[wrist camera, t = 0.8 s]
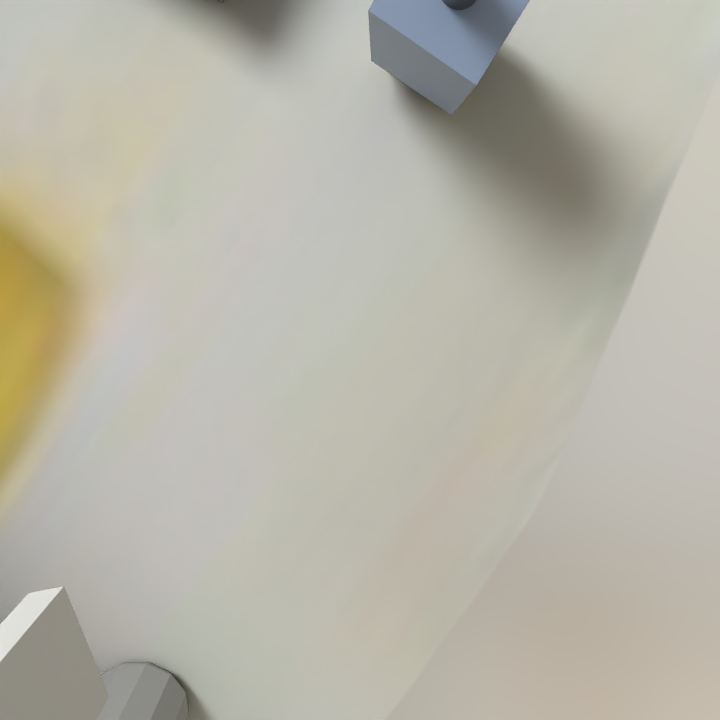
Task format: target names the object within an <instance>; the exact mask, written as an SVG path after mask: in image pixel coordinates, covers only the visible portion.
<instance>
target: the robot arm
mask: <svg viewBox="0 0 720 720" xmlns="http://www.w3.org/2000/svg"><path fill="white" fill-rule="evenodd" d="M108 698H109V696H108V693H107V691H106V688H105V686H104V683H103V681H102V679H101V676H100V674H99V671H98V669H97V666H96V664H95V661H94V659H93V656H92V654H91V652H90V649H89V647H88V644H87V642H86V639H85V637H84V634H83V632H82V630H81V627H80V625H79V622H78V620H77V617H76V615H75V612H74V610H73V607H72V605H71V603H70V600H69V598H68V595H67V593H66V590H65V588H64V586H63V587H58V588H52V589H47V590H42V591H37V592H32V593H29V594H28V595H27V596H26V597H25V598H24V599H23V600H22V601H21V602H20V603H19V604H18V606H17V607H16V608H15V609H14V610H13V611H12V612H11V613H10V614H9V615H8V616H7V618H6V619H5V620H4V621H3V622H2V623H1V624H0V720H97V718H98V716H99V714H100V712H101V711H102V709H103V707H104V705H105V703H106V702H107V700H108Z"/></svg>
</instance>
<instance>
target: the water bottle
mask: <svg viewBox="0 0 720 720" xmlns="http://www.w3.org/2000/svg"><path fill="white" fill-rule="evenodd" d="M100 676H101V679H102V681H103V683H104V686H105V688H106V691H107V693H108V696H109V698H108V700H107V702H106V703H105V705H104V707H103V709H102V711H101V712H100V714H99V716H98V718H97V720H187V718H188V715H189V712H188V705H187V697H186V692H185V691H184V689H183V688H182V687H181V685H180V684H179V683H178V682H177V680H176V679H175V678H174V677H173V675H172V674H171V673H170V672H168V671H165V670H163V669H161V668H159V667H157V666H155V665H153V664H151V663H149V662H125V663H122V664H120V665H118V666H116V667H114V668H112V669H111V670H109V671H107V672H105V673H103V674H101V675H100Z"/></svg>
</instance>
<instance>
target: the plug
mask: <svg viewBox="0 0 720 720" xmlns="http://www.w3.org/2000/svg"><path fill="white" fill-rule="evenodd" d="M529 1H530V0H374V1H373V3H372V5H371V7H370V8H369V10H368V13H369V30H370V47H371V61H372V62H374V63H375V64H377V65H378V66H380V67H381V68H383V69H384V70H386V71H387V72H389V73H390V74H391V75H393V76H394V77H396V78H397V79H399V80H400V81H402V82H403V83H405V84H406V85H408V86H409V87H411V88H412V89H413V90H415V91H416V92H418V93H419V94H421V95H422V96H424V97H425V98H427V99H428V100H430V101H431V102H432V103H434V104H435V105H437V106H438V107H440V108H441V109H443V110H444V111H446V112H447V113H449V114H450V115H453V114H454V112H455V111H456V110H457V109H458V108H459V106H460V105H461V104H462V103H463V101H464V100H465V99H466V98H467V96H468V95H469V94H470V93H471V92H472V90H473V89H474V88H475V87H476V85H477V84H478V82H479V81H480V79H481V77H482V76H483V74H484V73H485V71H486V69H487V68H488V66H489V65H490V63H491V61H492V60H493V58H494V57H495V55H496V53H497V52H498V50H499V49H500V47H501V45H502V44H503V42H504V41H505V39H506V37H507V36H508V34H509V33H510V31H511V29H512V28H513V26H514V25H515V23H516V21H517V20H518V18H519V17H520V15H521V14H522V12H523V10H524V9H525V7H526V6H527V4H528V2H529Z"/></svg>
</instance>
